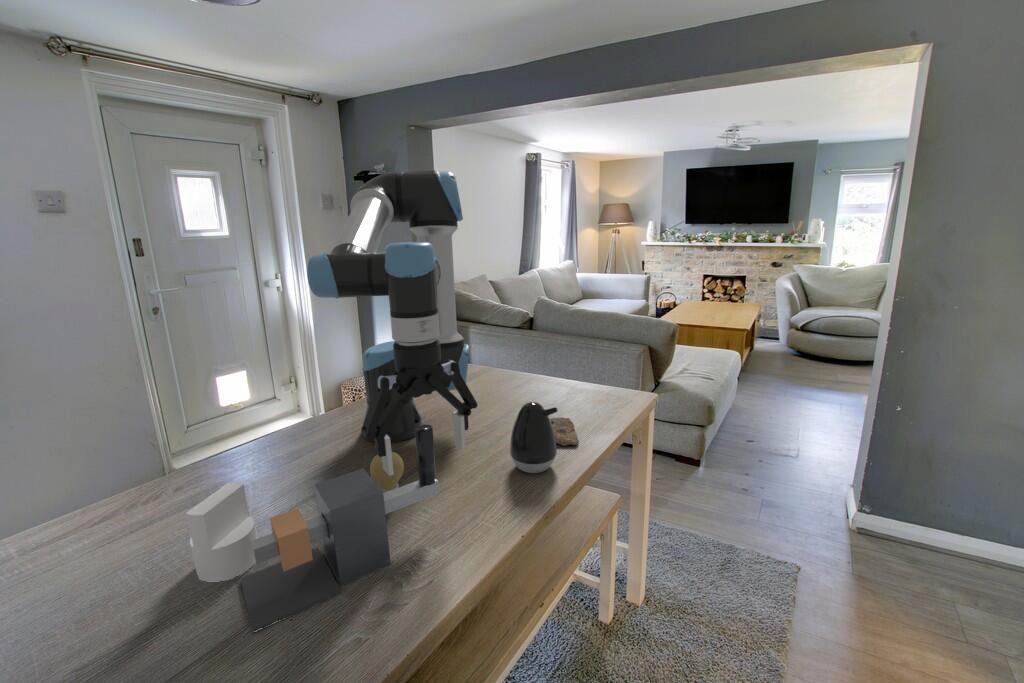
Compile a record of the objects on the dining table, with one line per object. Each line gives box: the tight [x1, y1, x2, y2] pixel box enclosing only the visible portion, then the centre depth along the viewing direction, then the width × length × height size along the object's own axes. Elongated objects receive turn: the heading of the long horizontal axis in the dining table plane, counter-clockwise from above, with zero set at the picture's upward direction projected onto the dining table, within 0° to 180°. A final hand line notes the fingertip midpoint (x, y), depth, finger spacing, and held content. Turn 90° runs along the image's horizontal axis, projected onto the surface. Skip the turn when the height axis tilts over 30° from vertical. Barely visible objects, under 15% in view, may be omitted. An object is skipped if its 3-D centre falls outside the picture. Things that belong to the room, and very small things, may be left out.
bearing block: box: [313, 468, 392, 587], centre depth 77 cm, size 9×8×13 cm
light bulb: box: [369, 451, 405, 493], centre depth 94 cm, size 6×6×10 cm
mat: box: [240, 547, 341, 633], centre depth 73 cm, size 12×12×1 cm
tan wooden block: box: [269, 508, 313, 571], centre depth 71 cm, size 6×4×6 cm, turn 36°
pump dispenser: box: [509, 401, 558, 474], centre depth 103 cm, size 10×10×15 cm
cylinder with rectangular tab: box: [185, 482, 259, 581], centre depth 77 cm, size 9×9×12 cm
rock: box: [550, 417, 579, 447], centre depth 118 cm, size 9×6×10 cm
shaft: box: [251, 424, 441, 565], centre depth 75 cm, size 3×29×12 cm, turn 126°
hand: (426, 459), depth 83 cm, fingers open, 13 cm apart
